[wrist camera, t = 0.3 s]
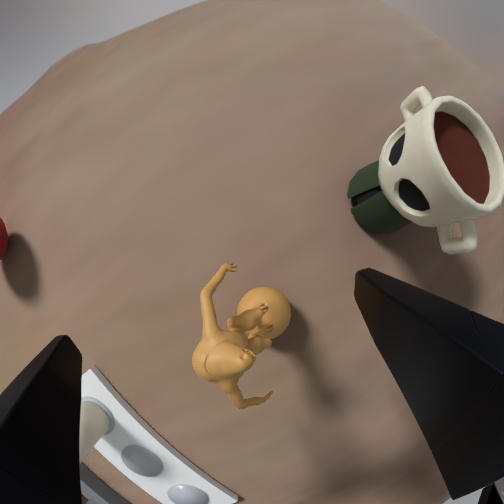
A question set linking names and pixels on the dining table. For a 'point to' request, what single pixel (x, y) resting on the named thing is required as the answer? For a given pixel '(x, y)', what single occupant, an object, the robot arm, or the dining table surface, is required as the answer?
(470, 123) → the character mug
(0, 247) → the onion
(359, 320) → the dining table surface
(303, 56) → the dining table surface
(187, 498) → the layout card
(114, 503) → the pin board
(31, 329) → the dining table surface
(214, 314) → the figurine
